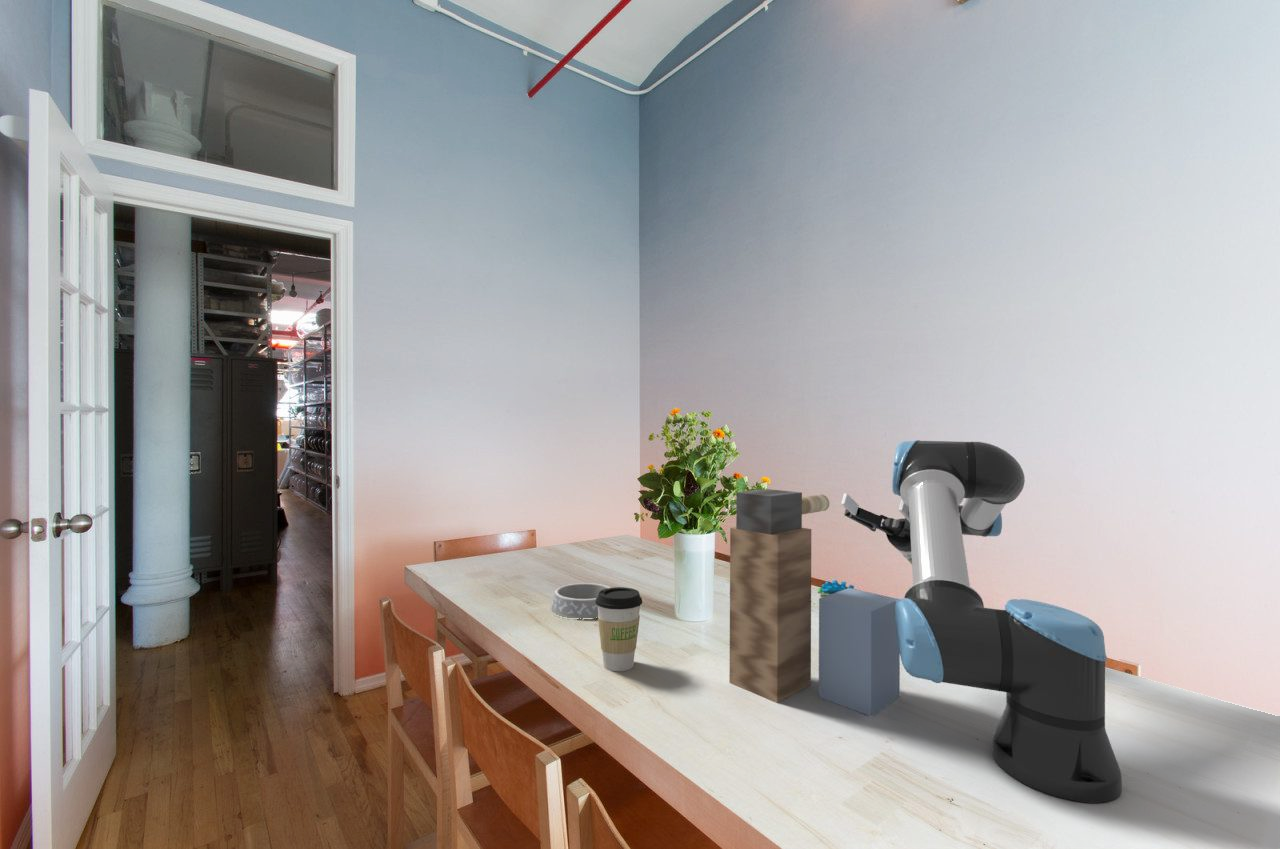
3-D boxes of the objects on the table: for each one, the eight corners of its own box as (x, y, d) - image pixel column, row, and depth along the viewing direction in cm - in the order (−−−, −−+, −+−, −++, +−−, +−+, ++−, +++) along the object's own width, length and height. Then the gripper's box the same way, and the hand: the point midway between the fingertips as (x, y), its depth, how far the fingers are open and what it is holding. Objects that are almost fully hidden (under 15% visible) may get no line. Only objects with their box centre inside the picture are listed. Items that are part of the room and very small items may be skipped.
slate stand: (899, 697, 106) (899, 599, 106) (870, 716, 99) (871, 611, 99) (848, 679, 114) (849, 587, 114) (818, 696, 106) (819, 598, 107)
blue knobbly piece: (863, 598, 163) (852, 578, 158) (861, 617, 159) (850, 597, 154) (824, 597, 169) (813, 577, 164) (822, 615, 166) (810, 596, 161)
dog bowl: (630, 608, 159) (630, 589, 159) (581, 625, 145) (581, 604, 145) (586, 596, 170) (586, 578, 170) (537, 611, 156) (537, 591, 156)
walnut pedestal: (810, 685, 111) (811, 529, 111) (777, 702, 104) (777, 535, 104) (763, 667, 119) (764, 522, 119) (729, 682, 112) (730, 527, 112)
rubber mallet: (839, 521, 121) (839, 488, 121) (771, 534, 105) (771, 496, 105) (805, 516, 127) (805, 485, 127) (736, 528, 111) (736, 492, 111)
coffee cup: (636, 677, 114) (637, 601, 114) (588, 672, 116) (589, 597, 116) (646, 657, 124) (646, 587, 124) (601, 654, 126) (602, 585, 126)
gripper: (958, 561, 133) (924, 523, 121) (856, 544, 152) (818, 510, 140) (964, 531, 136) (932, 491, 123) (863, 518, 154) (826, 482, 142)
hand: (871, 501), depth 132 cm, fingers open, 13 cm apart
